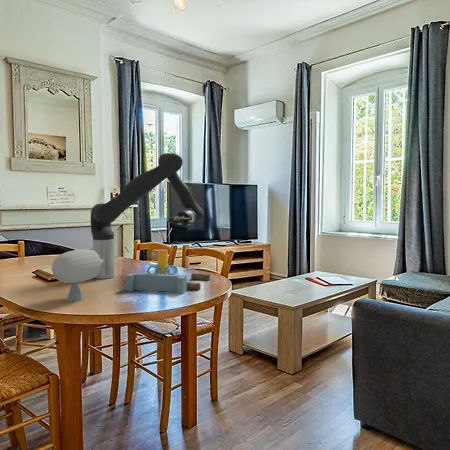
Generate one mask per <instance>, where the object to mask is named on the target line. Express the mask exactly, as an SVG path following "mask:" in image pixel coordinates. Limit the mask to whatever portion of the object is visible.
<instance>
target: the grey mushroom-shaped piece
mask: <svg viewBox="0 0 450 450" xmlns="http://www.w3.org/2000/svg"><path fill="white" fill-rule="evenodd" d="M102 262H103V260H102V259H101V258H100V257H99V255H98V254H97V253H96V252H95V251H94V250H93V249H88V248H85V249H75V250H69V251H67V252H66V251H65V252H63V253H61V254H60V255H58V256H57V257H55V259H54V260H53V262H52V264H51V271H52V272H51V273H52V274H53V276H54V278H55V279H56V280H57V281H59V282H62V283H66V284H71V286H70V290H69V292H68V294H67V295H68V296H67V298H66V302H69V303H71V302H81V301H83V300H84V297H83V294H82V291H81V288H80V286H79V284H78V283H83V282H85V281H88V280H91V279H95V278H94V277H96V276H97V275H98V274H99V273H100V270H101V264H102Z"/></svg>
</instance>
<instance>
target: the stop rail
mask: <svg viewBox="0 0 450 450" xmlns="http://www.w3.org/2000/svg"><path fill="white" fill-rule="evenodd" d="M187 282H188V275H184V274H183V275H182V274H175V275H167V274H154V273H151V274H148V273H147V272H146V273H140V272H131V273H129V274H126V275H125V292H133V291H135V290H137V291H152V292H153V291H155V292H157V291H158V292H174V293H175V292H176V295H177V294H178V295H184V294H185V293H186V292H187V291H188V290H187Z"/></svg>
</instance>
